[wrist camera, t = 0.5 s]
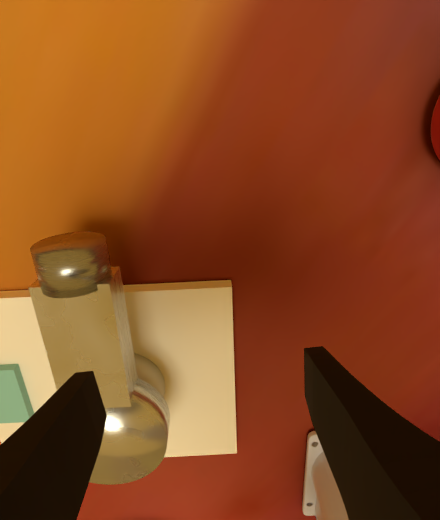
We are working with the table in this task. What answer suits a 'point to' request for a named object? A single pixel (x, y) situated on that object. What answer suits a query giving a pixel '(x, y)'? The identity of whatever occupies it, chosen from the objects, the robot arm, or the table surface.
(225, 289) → the base
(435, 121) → the beverage can
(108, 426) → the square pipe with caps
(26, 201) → the table surface
